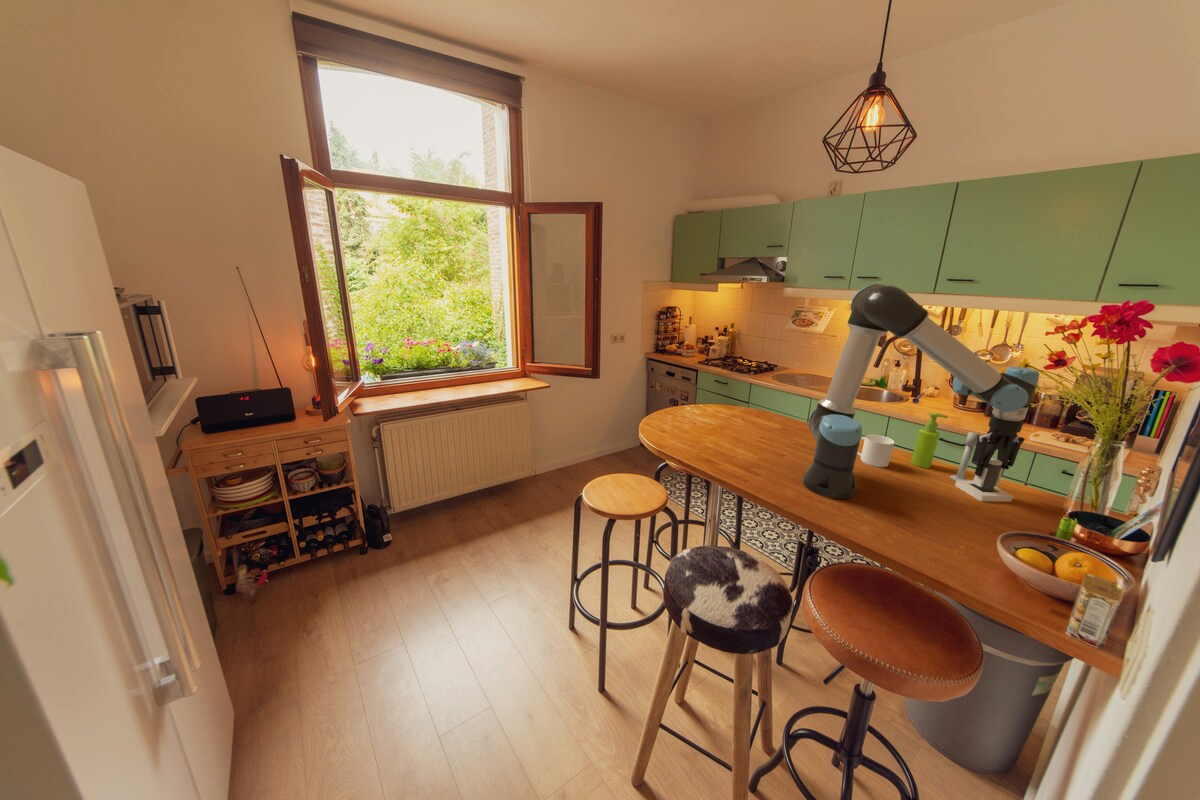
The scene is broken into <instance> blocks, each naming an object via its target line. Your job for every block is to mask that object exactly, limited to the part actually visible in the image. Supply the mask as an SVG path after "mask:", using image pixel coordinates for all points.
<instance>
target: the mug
mask: <svg viewBox="0 0 1200 800" xmlns="http://www.w3.org/2000/svg"><path fill="white" fill-rule="evenodd" d="M861 440H864V441H863V447H862V449H861V450H862V451H861V452H860V451H858V452H857V456H860V461H861V462H862V463H864V464H866V465H869V466H872V467H876V468H887V467H888V466H889V465H890V461H891V457H892V452H893V450H894V445H895V441H894V440H893V438H889V437H887V436H883V435H880V434H867V435H865V436H862V438H861Z"/></svg>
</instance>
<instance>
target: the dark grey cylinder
mask: <svg viewBox="0 0 1200 800" xmlns="http://www.w3.org/2000/svg"><path fill="white" fill-rule="evenodd" d="M1001 465H1002V461H1001V460H999V459H997V458H995V457H992V458H991V459H990V461H989V463H988V465H987V466H986V468H988V471H987V474H986V477H985V480H984V483H983V486H982V487H979V486H978V485H976V484H975V488H977V489H979V490H980V491H982V492H992V491H993V488H994V485H995V483H996V480H997V477H998V474H999V471H1000V468H1001Z"/></svg>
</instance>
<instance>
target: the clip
mask: <svg viewBox="0 0 1200 800" xmlns="http://www.w3.org/2000/svg"><path fill="white" fill-rule="evenodd" d="M978 435H980V433H976V432H973V431H969V432H968V433H967V437H966V440H965V442H964V444H965V446H966V445H969V446H974V447H976V444H977V436H978ZM981 435H982V436H983V435H984V434H981ZM992 445H993V444H992ZM994 446H995V445H994Z"/></svg>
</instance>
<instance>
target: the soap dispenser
mask: <svg viewBox="0 0 1200 800" xmlns="http://www.w3.org/2000/svg"><path fill="white" fill-rule="evenodd" d="M928 416H929V417H930V418H929V420H928V421H926V423H925V426H924V428H920V429H919V432H918V436H917V439H916V442H915V446H914V450H913V452H912V453H913V454H912V457H911V461H910V463H911V464H912V465H913V466H916V467H918V468H922V467H923V469H928V468H929V469H930V467H931V466H932V462H933V458H934V455H935V451H936V447H937V446H938V445H937V444H938V441H939V439H940V438H939V437H940V433H939V432H937V429H938V426H939V423H938V422H937V418H945V419H948V418H949V417H948V416H947V415H945V414H941V413H935V412H934V413H933V412H932V413H931V412H930V413H928Z"/></svg>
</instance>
